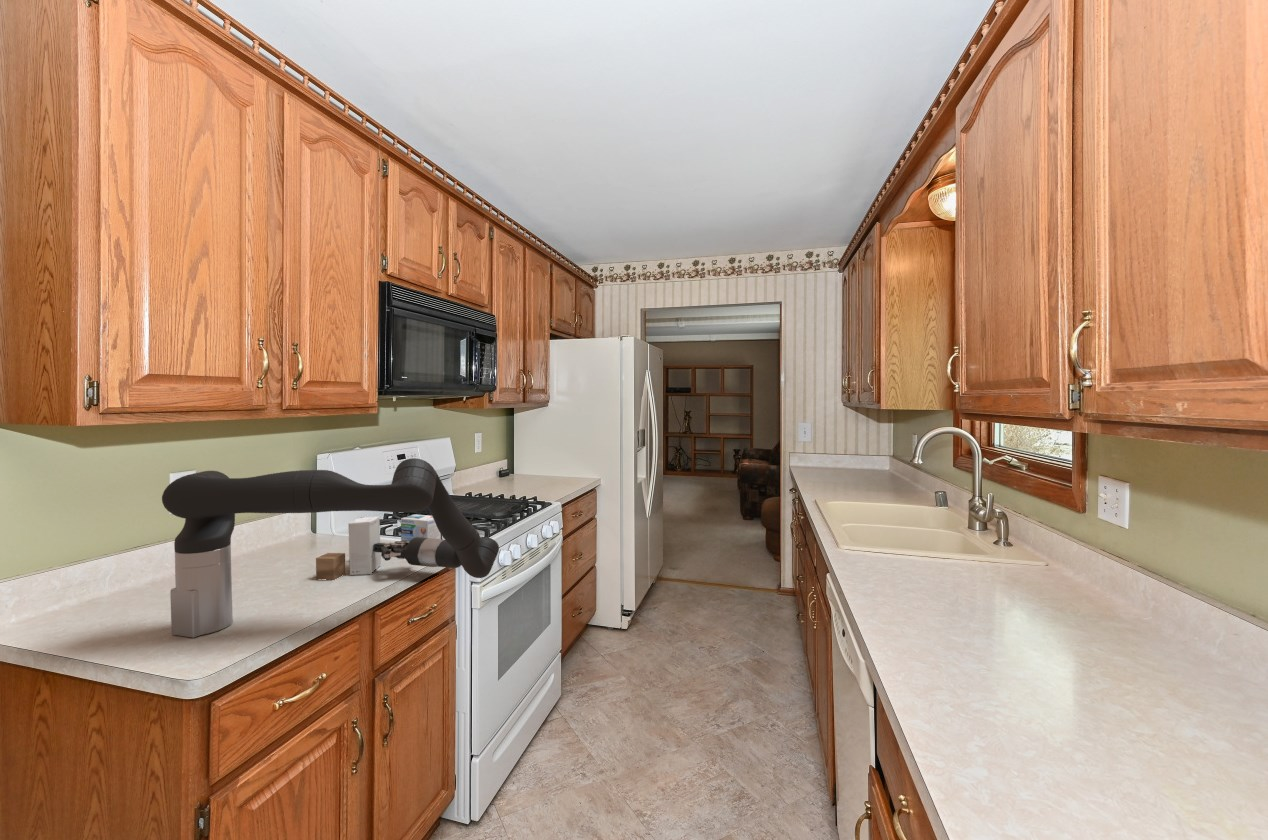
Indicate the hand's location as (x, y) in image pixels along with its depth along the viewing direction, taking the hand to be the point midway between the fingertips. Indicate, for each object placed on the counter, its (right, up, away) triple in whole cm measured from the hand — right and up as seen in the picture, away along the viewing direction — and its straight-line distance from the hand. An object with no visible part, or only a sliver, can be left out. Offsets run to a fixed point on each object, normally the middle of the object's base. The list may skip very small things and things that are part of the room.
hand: (375, 547), depth 148 cm
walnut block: (-10, -7, -4) cm, 13 cm away
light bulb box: (+4, -6, +22) cm, 23 cm away
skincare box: (-3, -7, +1) cm, 8 cm away
